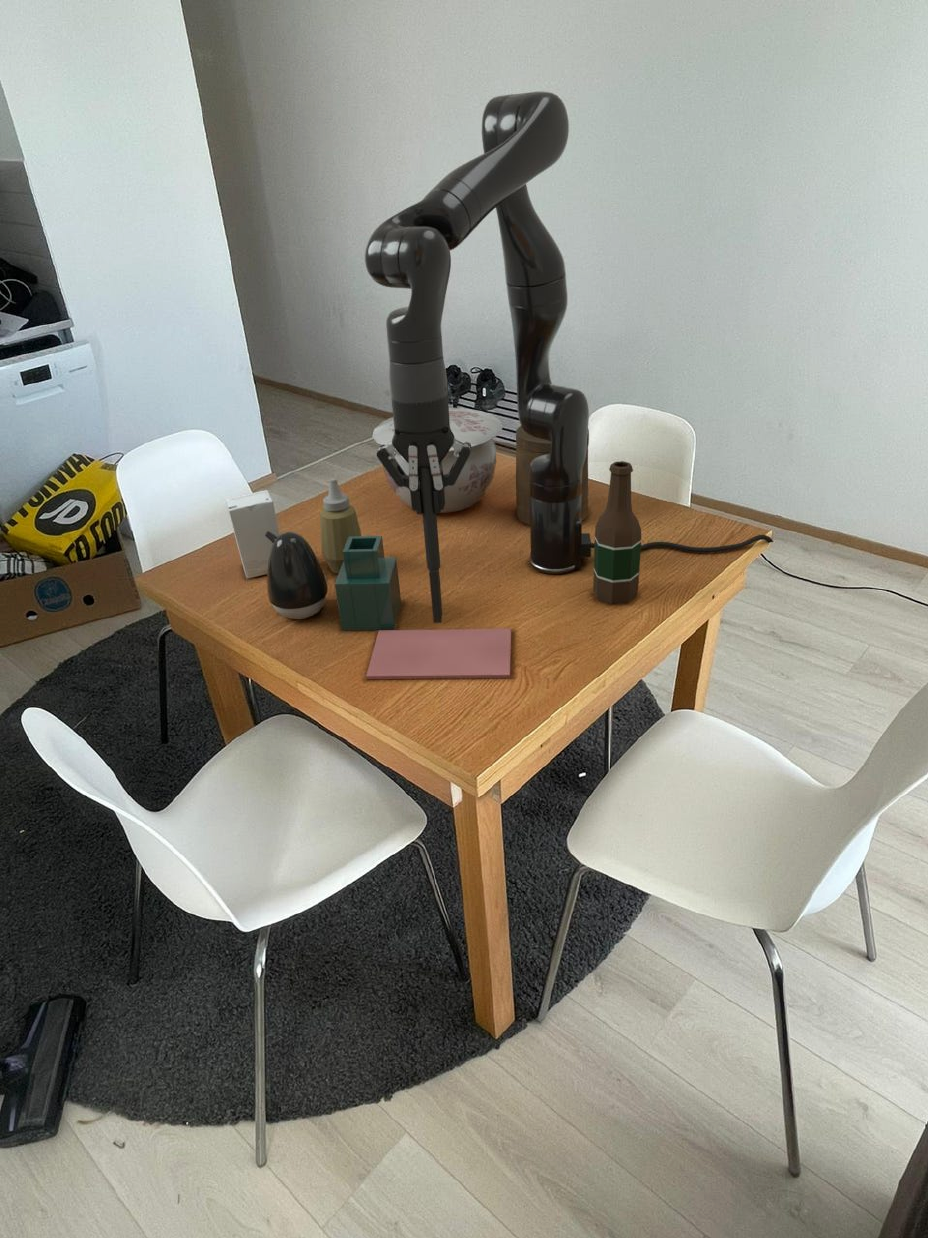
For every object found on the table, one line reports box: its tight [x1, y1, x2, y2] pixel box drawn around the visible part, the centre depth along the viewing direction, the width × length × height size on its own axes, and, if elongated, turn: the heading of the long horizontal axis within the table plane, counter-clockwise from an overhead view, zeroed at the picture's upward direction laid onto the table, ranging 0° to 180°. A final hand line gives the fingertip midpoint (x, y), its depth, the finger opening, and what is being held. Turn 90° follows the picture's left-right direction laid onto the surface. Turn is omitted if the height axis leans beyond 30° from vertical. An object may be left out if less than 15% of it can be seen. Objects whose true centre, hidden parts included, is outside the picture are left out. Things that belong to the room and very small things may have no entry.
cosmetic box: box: [225, 489, 281, 580], centre depth 156 cm, size 8×6×15 cm
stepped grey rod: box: [418, 465, 443, 624], centre depth 121 cm, size 2×3×25 cm
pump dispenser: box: [265, 531, 329, 620], centre depth 141 cm, size 10×10×15 cm
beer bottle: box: [592, 460, 642, 606], centre depth 138 cm, size 8×8×24 cm
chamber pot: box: [372, 407, 503, 514], centre depth 177 cm, size 28×28×21 cm
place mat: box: [365, 628, 512, 680], centre depth 131 cm, size 22×13×1 cm, turn 86°
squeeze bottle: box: [319, 477, 363, 574], centre depth 153 cm, size 8×8×18 cm
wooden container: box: [515, 425, 590, 526], centre depth 168 cm, size 15×15×22 cm
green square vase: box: [334, 535, 402, 631], centre depth 139 cm, size 9×9×14 cm
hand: (429, 511), depth 118 cm, fingers closed on stepped grey rod, 2 cm apart
